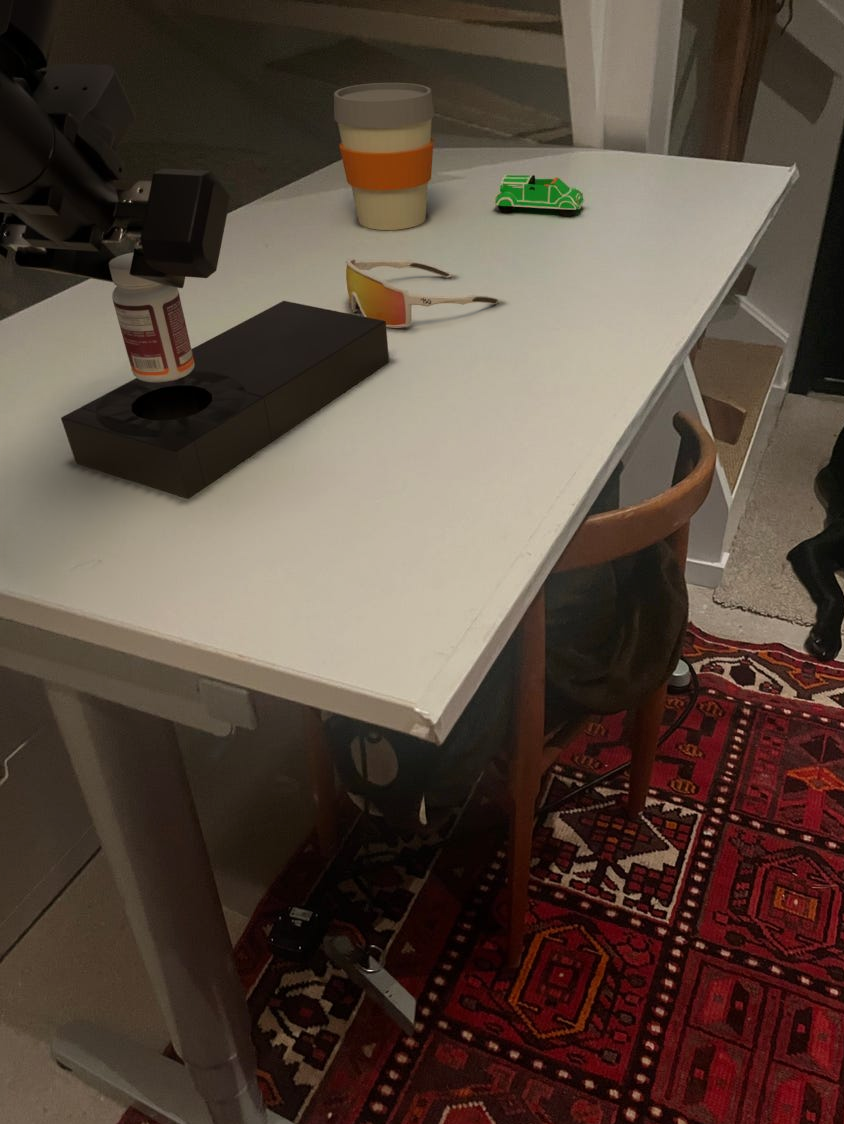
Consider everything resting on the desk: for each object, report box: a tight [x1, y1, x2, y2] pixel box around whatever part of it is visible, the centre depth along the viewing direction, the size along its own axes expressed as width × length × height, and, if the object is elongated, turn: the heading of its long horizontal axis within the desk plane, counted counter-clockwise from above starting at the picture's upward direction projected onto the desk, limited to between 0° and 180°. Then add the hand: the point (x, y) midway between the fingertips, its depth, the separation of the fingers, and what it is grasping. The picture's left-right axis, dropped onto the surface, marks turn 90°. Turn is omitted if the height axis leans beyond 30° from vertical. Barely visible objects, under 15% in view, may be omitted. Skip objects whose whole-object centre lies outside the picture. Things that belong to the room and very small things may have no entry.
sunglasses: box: [345, 258, 500, 329], centre depth 99 cm, size 14×15×5 cm
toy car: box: [491, 174, 585, 218], centre depth 125 cm, size 12×5×4 cm, turn 75°
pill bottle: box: [109, 252, 194, 382], centre depth 69 cm, size 5×5×8 cm
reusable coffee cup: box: [333, 82, 435, 231], centre depth 119 cm, size 13×13×15 cm
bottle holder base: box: [60, 300, 390, 499], centre depth 80 cm, size 28×12×4 cm, turn 151°
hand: (153, 279), depth 69 cm, fingers closed on pill bottle, 4 cm apart
